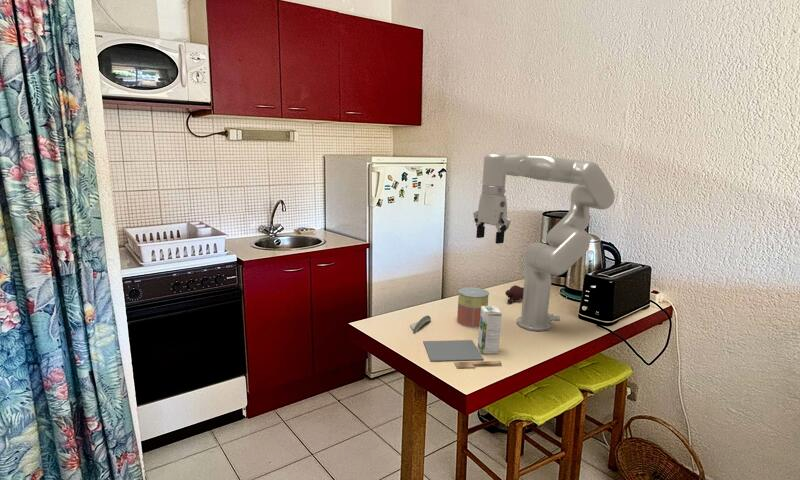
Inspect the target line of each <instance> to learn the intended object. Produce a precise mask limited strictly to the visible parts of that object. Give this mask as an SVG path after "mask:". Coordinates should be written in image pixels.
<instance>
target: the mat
mask: <svg viewBox="0 0 800 480" xmlns="http://www.w3.org/2000/svg"><path fill="white" fill-rule="evenodd" d="M423 344H424V347H425V351H426V353H427V356H428V359H429V362H430V363H431V362H432V363H433V362H436V363H437V362H477V361H485V359H484V357H483V356H482V355H483V354H482V353H481V352H480V350H479V348H478V346H477V345H476V343H474V340H473V339H464V340H463V339H462V340H461V339H460V340H459V339H456V340H454V339H453V340H452V339H451V340H423Z"/></svg>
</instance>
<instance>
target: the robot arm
mask: <svg viewBox="0 0 800 480" xmlns="http://www.w3.org/2000/svg"><path fill="white" fill-rule="evenodd" d="M507 176H512V177H522V178H529V179H532V180H536V181H537V180H538V181H543V182H553V183H561V184H569V185H575V186H574V187H573V188H572V190H571V193H570V207H569V210H568V212H567V213H566V215H565V216H564V217H562V218H561V219H560V220H559V222H557V223H556V224H555V225H554V226H553V227H552V228H551V229H550V230H549V231H548V232H547V235H546V242H547V243H548V244H547V243H543V242H531V243H530V244H528V246H527V247H526V248H525V249H524V250H525V251H524V252H523V253H524V254H523V260H524V261H523V262H524V283H523V288H524V292H523V299H522V305H521V314H520V316H518V317H517V318H516V324H517V325H518V326H519V327H521V328H523V329H525V330H529V331H535V332H541V331H542V332H543V331H548V330H550V329H551V327H552V323H551V322H560V321H561V317H560V315H554V313H549V306H550V298H551V297H550V296H551V287H552V276H561V275H563V274H565V273H566V272H567V271H568V270H569V269H570V268H571V267H572V266H573V265H574V264H575V263H577V261H579V259H580V258H582V257H583V256H584V254H586V253H587V251H588V249H589V247H590V243H591V238H590V235H589V233H588V232H587V231H586V229H587V227H588V226H589V224H590V219H591V215H590V209H594V210H595V209H596V210H607V209H609V208H611V206H612V205H613V204H614V202H615V199H616V197H615V191H614V189H613V187H612V185H611V183H610V181H609V180H608V178H607V176H606V174H605V173H604V172H603V170H602V168H601V167H600V166H599V165H598V164H597V163H596V162H594V161H589V160H577V159H568V158H562V157H561V158H560V157H555V156H546V155H545V156H544V155H539V156H538V155H526V154H523V153H514V152H502V153H487V154H485V156H484V158H483V171H482V186H481V194H480V198H479V203H478V208H477V210H476V211H475V212H473V219H474V222H475V227H476V233H475V234H476V237H475V238H476V239H483V238H484V237H485V233H486V231H485V229H486V226H485V224H487V225H490V226H495V228H496V232H495V244H497V245H499V244H503V243H504V242H505V233H506V232H507V230H508V229H509V226H510V225H511V222H512V220H511V219H510V218H509V217H508V203H507V202H508V201H507V196H506V195H505V193H506V192H507V191H506V178H507Z"/></svg>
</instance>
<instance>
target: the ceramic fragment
mask: <svg viewBox="0 0 800 480" xmlns="http://www.w3.org/2000/svg"><path fill="white" fill-rule="evenodd" d="M431 321H432V318H431V316H430V315H425V316H423V317H422V318H420V319H418V321H416V322H414V323H411V324H410V328H411V330H412V331H413V334H417V333H418V331H419V330H420V328H421V327H422V326H423V325H424V324H427V322H431Z"/></svg>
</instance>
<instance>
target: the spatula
mask: <svg viewBox="0 0 800 480" xmlns="http://www.w3.org/2000/svg"><path fill="white" fill-rule="evenodd" d="M453 363H454V366H455V368H456V369H457V370H460V369H461V370H464V369H469V370H470V369H476V368H477V367H481V368H482V367H502V364H503V363H502V362H501V360H488V361H487V360H486V361H485V360H478V361H453Z"/></svg>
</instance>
